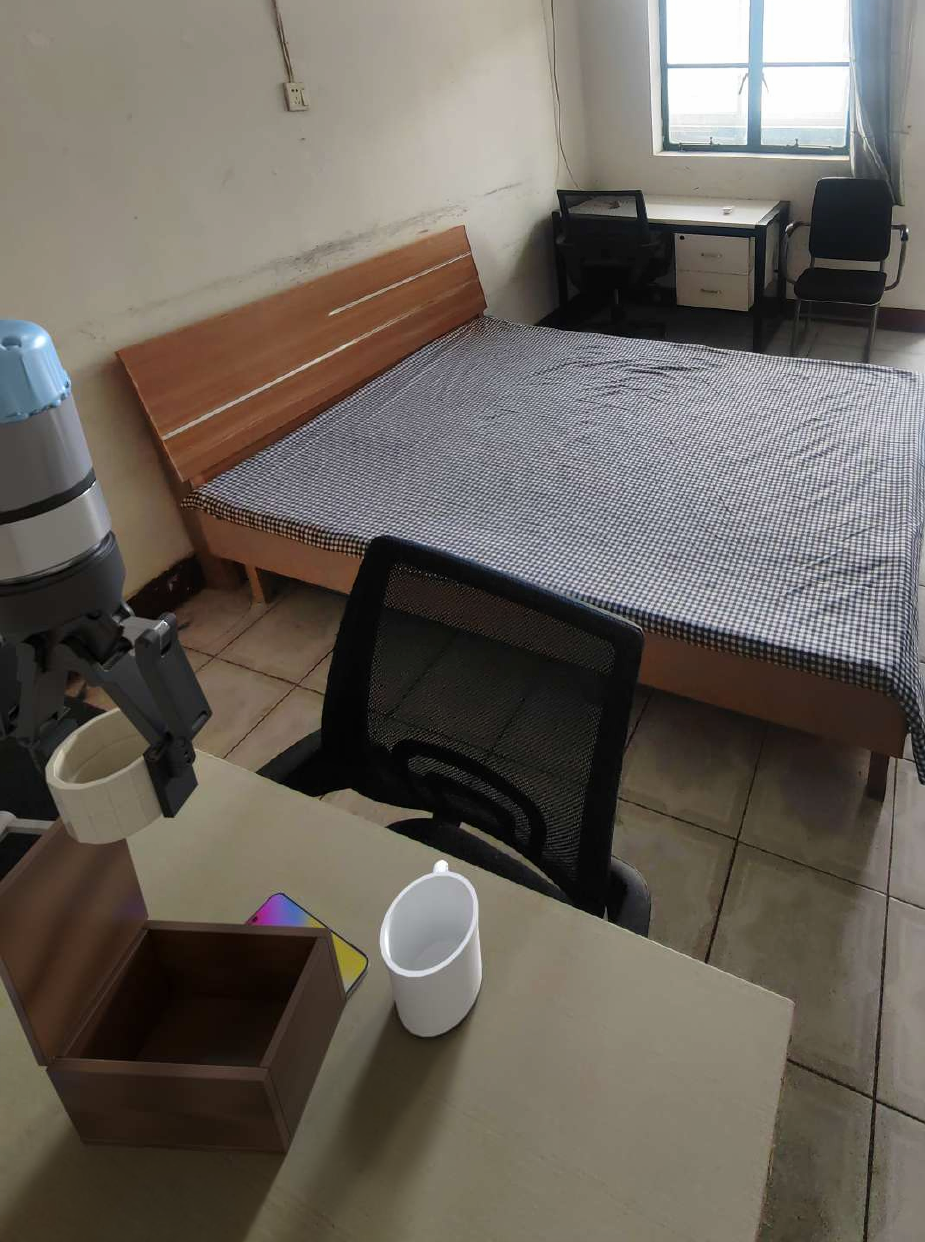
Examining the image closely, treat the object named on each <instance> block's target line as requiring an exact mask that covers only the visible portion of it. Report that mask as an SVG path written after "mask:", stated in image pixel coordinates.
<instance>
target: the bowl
mask: <svg viewBox="0 0 925 1242" xmlns="http://www.w3.org/2000/svg"><path fill="white" fill-rule="evenodd" d="M149 746H150V744H149V743H148V742H147V741H146V740H145V738H144V737H143V736H142V735H141V734H140V732H139V731H138V730H137V729H136V728H135V727H134V725H133V724H132V723H131V722H130V721H129V719H128V718H127V717H126V716H125V715H124V714H123V712H122V711H121V710H120V709H119V708H118V707H115V708H113V709H111V710H108V711H106V712H103V713H102V714H99V715H97V716H95V717H93V718H92V719H90V720H88V721H87V722H85V723H84V724H83V725H81V726H80V727H78V729H77V730H75V731H74V732H72V733H71V734H70V735H69V736H68V737H67V738H66V739H65V740H64V741H63V742H62V743H61V744H60V745H59V746H58V747H57V748H56V749H55V751H54V752H53V754H52V756H51V758H50V760H49V762H48V763H47V765H46V768H45V771H46V781H45V783H46V782H47V783H46V785H47V784H48V786H47V788H48V787H49V788H48V790H49V789H50V791H49V793H50V792H51V793H50V795H51V794H52V796H53V798H52V800H53V799H54V801H55V803H54V805H55V804H56V805H55V807H56V806H57V808H58V810H57V812H58V811H59V813H60V814H59V813H58V814H59V816H61V818H62V820H63V823H64V825H65V828H66V830H67V832H68V835H70V836H71V837H72V838H74V839H75V840H76V841H78V842H79V843H90V844H106V843H111V842H115V841H118V840H121V839H124V838H126V839H127V838H129V837H131V836H133V835H135V834H137V833H139V832H140V831H142V830H144V829H145V828H147V827H148V826H149V825H151V824H152V823H153V822H155V821H156V820H158V819H159V818H160V817H161V816H163V813H162V810H161V807H160V804H159V801H158V799H157V796H156V793H155V790H154V787H153V784H152V781H151V778H150V775H149V772H148V769H147V766H146V763H145V760H144V757H143V753H144V752H145V751H146V749H147V748H148V747H149ZM52 796H51V797H52ZM54 801H53V802H54ZM57 808H56V809H57Z"/></svg>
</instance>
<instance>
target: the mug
mask: <svg viewBox="0 0 925 1242" xmlns="http://www.w3.org/2000/svg"><path fill="white" fill-rule="evenodd" d="M380 927H381V928H380V934H379V946H380V947H379V948H380V952H381V957H382V960H383V963H384V965H385V967H386V968H385V969H386V970H387V973H388V976H389V980H390V984H391V988H392V993H393V997H394V1001H395V1005H396V1009H397V1013H398V1018H399V1021H400V1023H401V1024H402V1026H403V1028H404V1029H405V1030H406V1031H407V1032H408V1033H409V1034H410V1035H412V1036H414V1037H417V1038H420V1039H424V1040H425V1039H427V1040H428V1039H436V1038H439V1037H442V1036H444V1035H447V1034H448V1033H450V1032H452V1031H453V1030H454V1029H456V1028H457V1027H458V1026H459V1025H460V1024H461V1023H462V1022H463V1021H464V1020H465V1019H466V1018H467V1017H468V1016H469V1013H470V1012H471V1011H472V1009H473V1008H474V1006H475V1004H476V1003H477V999H478V997H479V994H480V992H481V988H482V987H481V986H482V982H483V981H482V980H483V967H482V955H481V943H480V932H479V899H478V896H477V893H476V890H475V887H474V886H473V885H472V884H471V882H470V881H469V879H468V878H465V877H464V876H463V875H461V874H460V873H457V872H453V871H450V870H449V865H448V862H446V861H445V860H441V859H440V860H438V861H437V862H436V863H435V864H434V866H433V869H432V872H431V873H427V874H425V875H423V876H421V877H419V878H417V879H415V880H413V881H412V882H411V883H409V885H407V886H406V887H405V888H404V889H402V891H400V893H399V894H397V896H396V897H395V899H394V900H393V901H392V903H391V904H390V906H389V908H388V910H387V911H386V913H385V915H384V918H383V921H382V925H381V926H380Z"/></svg>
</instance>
